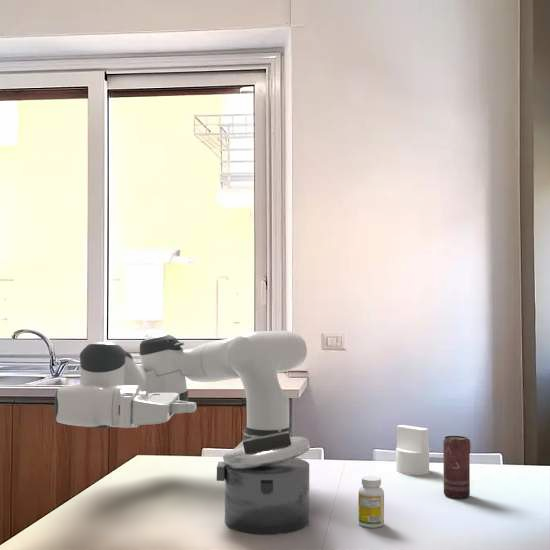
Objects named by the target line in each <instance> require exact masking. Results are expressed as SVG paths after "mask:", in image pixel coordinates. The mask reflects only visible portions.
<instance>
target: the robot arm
mask: <svg viewBox="0 0 550 550" xmlns="http://www.w3.org/2000/svg"><path fill="white" fill-rule="evenodd" d="M306 343H307V342H305V339H304V338H303V337H302V335H300V334H298V333H296V332H292V331H289V330H288V331H287V330H263V331H261V330H259V331H248V332H244V333H241V334H240V335H237V336H235V337H230V338H224V339H219V340H214V341H210V342H206V343H205V342H204V343H202V344H200V345H196V346H195V347H191V348H188V349H183V347H182V346H184V345H185V343H184V342H180V341H179V340H178V339H177V338H176V337H174V336H173V335H170V334H166V333H154V334H152V335H150V336H148V337H146V338H145V339H144V340H142V341H141V342H140V343H139V356H140V359H141V366H140V365H138V364H136V362H135V360H134V358H133V356H132V354H131V353H129V352H128V351H126V350H125V349H123V347H122V346H120V345H119V344H116V343H115V342H114V343H113V342H111V341H96V342H92V343H89V344H87V345H86V346H85V347H84V348H83V349H82V350H81V352H80V353H79V364H80V365H79V366H80V384H74V385H66V386H61V387H60V386H59V387H58V388H57V390H56V392H55V395H54V409H53V410H54V418H55V420H56V422H57V423H60V424H63V425H68V426H75V427H87V428H88V429H107V428H108V429H109V428H111V427H112V428H122V429H130V428H138V427H139V426H143V425H159V424H165V423H167V422H168V421H169V420H170V419H171V417H172V416H173V415H174V414H176V415H178V414H185V413H195V411H196V410H197V402H194V401H189V390H188V387H187V379H188V380H190V381H193V382H199V383H216V382H223V381H229V380H234V379H235V380H236V379H240V381H241V383H242V386H243V388H244V389H243V390H244V394H245V398H246V426H245V427H244V426H243V427H241V429H243V430H242V431H241V432H242V433H243V436H242V441H241V442H240V443H239V444H238V445H237V446H236V447H235V448H234V449H236V448H238V447H241V446H243V440H244V439H249V438H254V437H259V436H265V435H270V434H275V433H280V432H285V431H289V435H290V437H292V427H291V426H290V398H289V397H290V396H289V395H288V393H287V392H286V391H285V390H283V388H282V387H281V384H280V381H279V378H278V373H286V372H289V371H291V370H293V369H296V368H298V367H300V366H302V364H303V363H304V362H305V360H306V358H307V354H308V348H307V344H306ZM186 378H187V379H186Z"/></svg>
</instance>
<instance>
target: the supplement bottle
mask: <svg viewBox="0 0 550 550" xmlns="http://www.w3.org/2000/svg"><path fill="white" fill-rule="evenodd" d="M361 485H362V486H361V487H359V489H358V498H357V499H358V501H357V502H358V511H357V512H358V524H359V525H360V526H361V527H363V528H368V529H376V528H381V527H383V526H384V523H385V491H384V490H383V489H384V488H382V487H381V486H382V478H381V477H379V476H376V475H375V476H373V475H366V476H362V477H361Z"/></svg>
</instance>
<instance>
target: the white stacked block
mask: <svg viewBox="0 0 550 550" xmlns="http://www.w3.org/2000/svg"><path fill="white" fill-rule="evenodd" d="M429 433H430V431H429V428H425V427H421V426H420V427H419V426H414V425H412V426H411V425H405V424H400V425H397V426H396V448H395V461H396V462H395V470H396V471H395V472H397V473H398V472H399V473H398V474H401V473H402V475H406V474H408V475H407V476H422V475H428V474H429V473H430V450H429V446H430V444H429V437H430V436H429ZM427 473H428V474H427Z"/></svg>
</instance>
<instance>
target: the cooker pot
mask: <svg viewBox="0 0 550 550" xmlns="http://www.w3.org/2000/svg"><path fill="white" fill-rule="evenodd" d="M216 465H217V466H216V482H224V487H225V488H224V523H225V525H226V526H227V527H228V528H230V529H232V530H234V531H237V532H240V533H244V534H245V533H246V534H250V533H251V534H252V535H264V534H270V535H280V534H279V533H284V534H288V532H290V533H293V531H294V532H297V530H298V531H299V530H303V529H305V528H306V527H308V526H309V524H310V463H309V462H308V461H306V460H304V459H302V458H298V457H295V458H292V459H290V460H286V461H283V462H279V463H275V464H271V465H266V466H260V467H253V468H229V467H226V466H225V465H224V461H218V463H217V464H216ZM304 527H305V528H304ZM302 528H303V529H302Z"/></svg>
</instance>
